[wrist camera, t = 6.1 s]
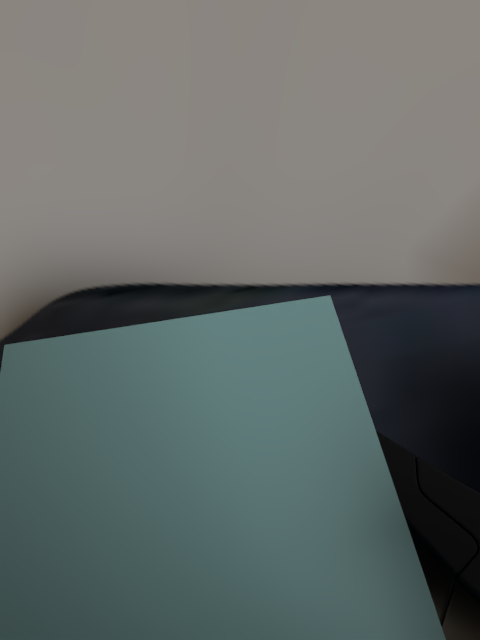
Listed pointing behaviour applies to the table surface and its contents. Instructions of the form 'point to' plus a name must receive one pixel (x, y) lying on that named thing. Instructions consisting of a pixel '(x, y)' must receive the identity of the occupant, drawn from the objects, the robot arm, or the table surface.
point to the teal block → (201, 487)
